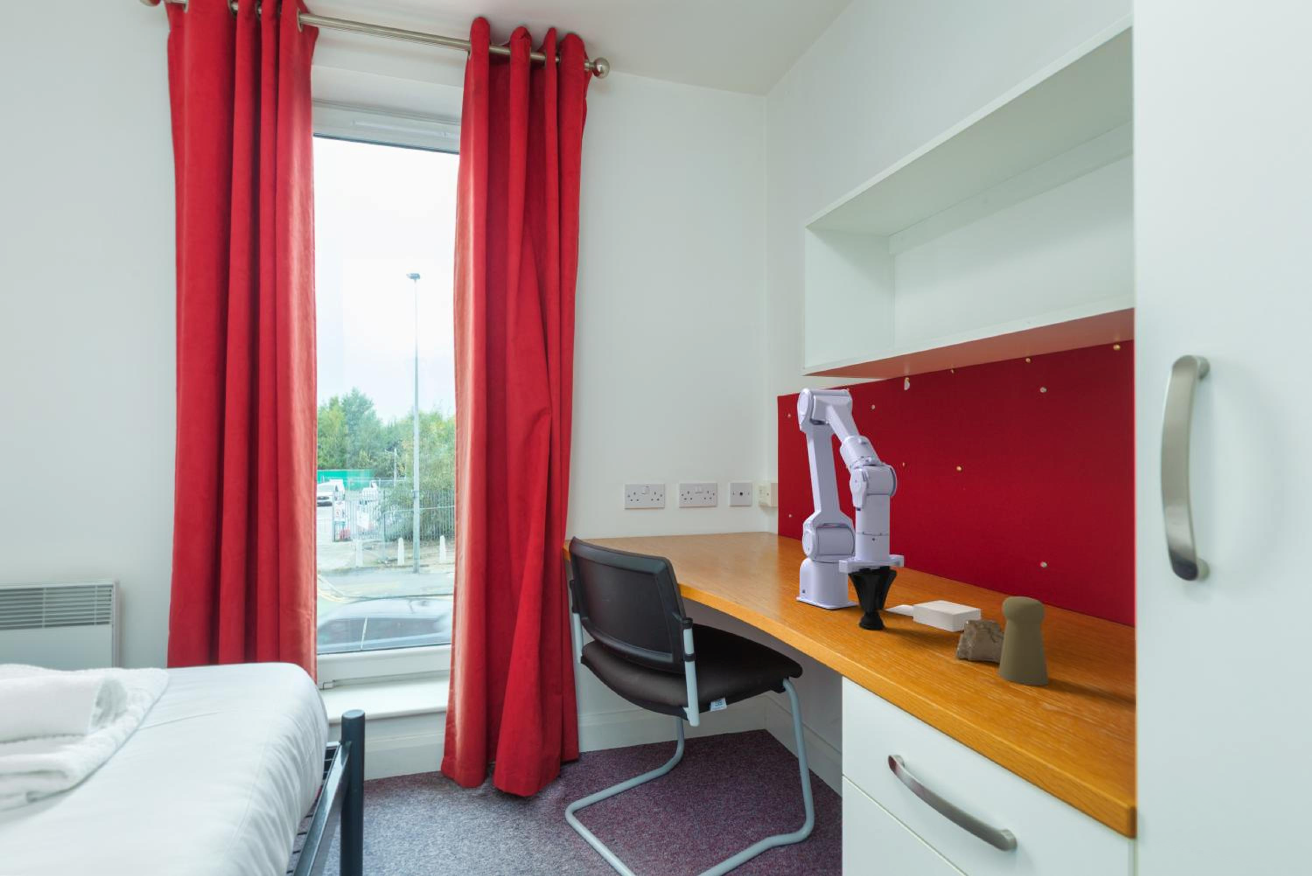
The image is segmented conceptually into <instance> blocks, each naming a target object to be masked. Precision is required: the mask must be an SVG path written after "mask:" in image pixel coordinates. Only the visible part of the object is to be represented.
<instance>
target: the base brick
mask: <svg viewBox="0 0 1312 876" xmlns="http://www.w3.org/2000/svg"><path fill="white" fill-rule="evenodd" d="M913 606H914V617H913V622H915V623H919V624H923V625H926V626H930V627H934V628H937V629H941V630H944V631H947V632H950V633H951V632H952V633H954V632H958V631H964V625H965V622H966V621H968V620H982V609H981V608H978V607H977V608H976V607H973V606H968V605H964V604H959V603H955V602H950V601H947V600H942V599H939V600H934V601H928V602H922V603H917V604H913Z"/></svg>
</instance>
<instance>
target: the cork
mask: <svg viewBox="0 0 1312 876" xmlns="http://www.w3.org/2000/svg"><path fill="white" fill-rule="evenodd" d="M1001 611H1002V614H1003V616H1004V618H1005V619H1006V623H1005V628H1004V633H1005V634H1004V641H1003V647H1002V654H1001V660H1000V663H999V667H998V676H999V677H1000V678H1002V679H1003V680H1006V681H1008V682H1012V683H1015V684H1020V685H1026V686H1036V687H1037V686H1045V685H1048V684H1049V681H1050V680H1049V676H1048V675H1049V674H1048V668H1047V661H1046V655H1045V653H1046V652H1045V648H1044V647H1045V646H1044V641H1043V633H1042V626H1041V625H1042V624H1043V621H1044V620H1045V617H1046V609H1045V605H1044V604H1043V603H1042V602H1041V601H1039V600H1038V599H1035V598H1031V597H1029V596H1028V597H1027V596H1010V597H1006V598H1005V599H1004V601H1003V602H1002V606H1001Z"/></svg>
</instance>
